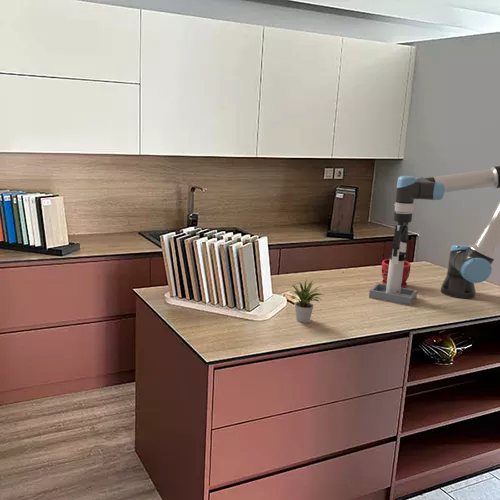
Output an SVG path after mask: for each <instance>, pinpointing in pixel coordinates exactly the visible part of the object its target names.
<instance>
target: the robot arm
mask: <svg viewBox="0 0 500 500" xmlns="http://www.w3.org/2000/svg"><path fill="white" fill-rule="evenodd" d="M396 183H397V184H396V187H395V188H396V191H395V203H393V206H394V213H393V221H394V222H396V223H397V224H396V225H395V227H394V233H393V234H394V235H393V239H392V243H391V245H390V249H392V250H391V251H392V252H391V253H392V261H391V263H393V264H398V259H399V252H406V253H407V244H409V243H410V242H409V223H411V222H412V219H413V214H412V213H413V211H414V200H429V201H441V200H443V198H444V196H445V193H450V192H459V191H466V190H475V189H482V188H493V189H500V165H497V166H491V167H490V169H483V170H477V171H469V172H461V173H460V172H459V173H454V174H453V173H452V174H445V175H438V176H432V177H431V176H430V177H421V176H420V177H416V176H413V175H400V176H398V178H397V182H396ZM499 245H500V200H499V201H498V203H497V205H496V206H495V208H494V209H493V211H492V213H491V215H490V217H489V219H488V220H487V221H486V223H485V225H484V227H483V228H482V230H481V232H480V234H479V235H478V237H477V239H476V241H475V243H474V244H473V243H472V244H470V245H468V244H453V245H451V247H450V250H449V258H448V264H447V273H446V276H445V278H444V280H443V282H442V284H441V286H440V292H441V293H442V294H443V295H446V296H448V297H449V296H450V297H453V298H457V299H472V298H475V297H476V287H475V284H479V283H483V282H484V281H486V280H487V279H488V278H489V277H490V276H491V274H492V270H493V269H492V264H493V262H494V260H495V255H494V253H495V252H496V250H497V248H498V246H499Z"/></svg>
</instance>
